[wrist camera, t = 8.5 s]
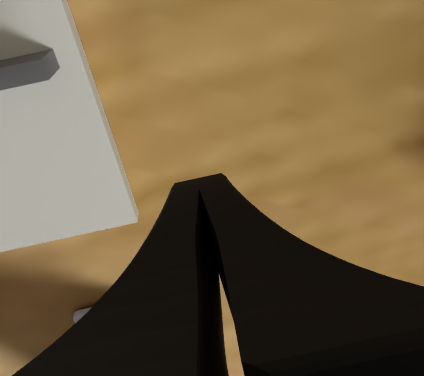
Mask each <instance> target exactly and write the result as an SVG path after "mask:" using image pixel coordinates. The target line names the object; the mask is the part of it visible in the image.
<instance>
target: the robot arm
mask: <svg viewBox="0 0 424 376" xmlns="http://www.w3.org/2000/svg"><path fill="white" fill-rule="evenodd" d="M219 275H220V278H221V282H222V285H223V288H224V291H225V295H226V298H227V301H228V304H229V307H230V311H231V314H232V317H233V320H234V324H235V330H236V335H237V341H238V346H239V351H240V357H241V362H242V367H243V371H244V375H245V376H424V287H423V286H420V285H416V284H412V283H409V282H405V281H402V280H398V279H394V278H391V277H388V276H385V275H382V274H379V273H376V272H373V271H371V270H368V269H365V268H362V267H359V266H357V265H354V264H352V263H349V262H347V261H344V260H342V259H339V258H337V257H335V256H333V255H331V254H328V253H326V252H324V251H322V250H320V249H318V248H316V247H314V246H312V245H310V244H308V243H306V242H304V241H302V240H301V239H299V238H297V237H296V236H294V235H292V234H291V233H289V232H288V231H286V230H285V229H283V228H282V227H280V226H279V225H278V224H276V223H275V222H274V221H272V220H271V219H269V218H268V217H267V216H266V215H264V214H263V213H262V212H261V211H259V210H258V209H257V208H256V207H255V206H254V205H252V204H251V203H250V202H249V201H248V200H247V199H246V198H245V197H244V196H243V195H242V194H241V193H240V192H239V191H238V190H237V189H236V188H235V187H234V186H233V185H232V184H231V183H230V181H229V180H228V179H227V177H226V176H225V175H223V174H222V173H219V174H215V175H210V176H206V177H201V178H197V179H192V180H187V181H183V182H178V183H175V184H174V185H173V187H172V188H171V191H170V193H169V196H168V198H167V200H166V202H165V205H164V207H163V209H162V211H161V213H160V215H159V217H158V219H157V221H156V222H155V224H154V226H153V228H152V230H151V232H150V233H149V235H148V237H147V238H146V240H145V241H144V243H143V245H142V246H141V248H140V249H139V251H138V253H137V254H136V256H135V257H134V258H133V260H132V261H131V263H130V264H129V265H128V267H127V268H126V270H125V271H124V272H123V273H122V275H121V276H120V277H119V278H118V280H117V281H116V282H115V283H114V284H113V285H112V286H111V287H110V289H109V290H108V291H107V292H106V293H105V294H104V295H103V296H102V297H101V298H100V299H99V300H98V301H97V302H96V303H95V304H94V306H93V307H91V308H86V309H82V310H78V311H76V312H75V313H74V315H73V321H74V323H75V324H74V325H73V326H72V327H71V328H70V329H69V330H68V331H66V332H65V333H64V334H63V335H62V336H61V337H60V338H58V339H57V340H56V341H55V342H54V343H53V344H52V345H50V346H49V347H48V348H47V349H46V350H44V351H43V352H42V353H41V354H39V355H38V356H37V357H36V358H34V359H33V360H32V361H30V362H29V363H28V364H27V365H25V366H24V367H23V368H21V369H20V370H19V371H17V372H16V373H15V374H13V375H12V376H229V375H228V369H227V363H226V355H225V346H224V333H223V321H222V308H221V295H220V283H219Z"/></svg>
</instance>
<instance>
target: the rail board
mask: <svg viewBox="0 0 424 376" xmlns="http://www.w3.org/2000/svg"><path fill="white" fill-rule="evenodd" d="M136 222H138V209H137V206H136V204H135V201H134V198H133V195H132V192H131V189H130V186H129V183H128V180H127V177H126V174H125V171H124V168H123V165H122V162H121V159H120V156H119V153H118V150H117V147H116V144H115V141H114V138H113V135H112V132H111V129H110V126H109V123H108V120H107V118H106V115H105V112H104V109H103V106H102V103H101V100H100V97H99V94H98V91H97V88H96V85H95V82H94V79H93V76H92V73H91V70H90V67H89V64H88V61H87V58H86V55H85V52H84V49H83V46H82V43H81V40H80V37H79V34H78V32H77V29H76V26H75V23H74V20H73V17H72V14H71V11H70V8H69V5H68V2H67V0H0V252H3V251H8V250H12V249H17V248H21V247H26V246H31V245H35V244H40V243H44V242H49V241H54V240H58V239H63V238H67V237H72V236H77V235H81V234H86V233H90V232H95V231H100V230H104V229H109V228H113V227H118V226H123V225H127V224H132V223H136Z"/></svg>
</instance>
